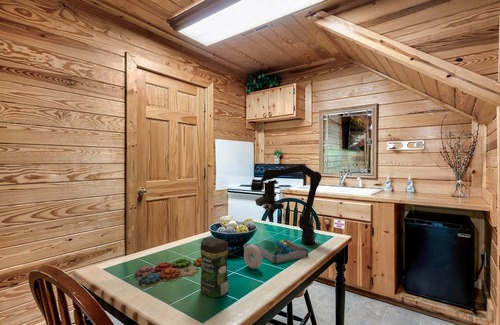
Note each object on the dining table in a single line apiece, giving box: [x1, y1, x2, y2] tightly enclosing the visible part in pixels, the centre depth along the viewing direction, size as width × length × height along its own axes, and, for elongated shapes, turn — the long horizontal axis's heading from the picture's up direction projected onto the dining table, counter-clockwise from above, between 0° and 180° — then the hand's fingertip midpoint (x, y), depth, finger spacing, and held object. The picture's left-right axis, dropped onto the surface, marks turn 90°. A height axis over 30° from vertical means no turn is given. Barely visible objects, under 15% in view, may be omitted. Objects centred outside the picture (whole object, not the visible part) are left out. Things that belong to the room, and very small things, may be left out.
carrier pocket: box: [257, 240, 309, 265], centre depth 126 cm, size 19×16×3 cm
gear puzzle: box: [134, 256, 202, 288], centre depth 108 cm, size 31×16×4 cm, turn 124°
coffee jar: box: [200, 235, 229, 299], centre depth 91 cm, size 10×8×19 cm
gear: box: [272, 240, 293, 255], centre depth 124 cm, size 11×6×10 cm
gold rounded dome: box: [279, 238, 292, 246], centre depth 139 cm, size 6×6×3 cm
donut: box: [243, 243, 263, 270], centre depth 110 cm, size 10×4×10 cm, turn 40°
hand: (269, 219), depth 147 cm, fingers closed
